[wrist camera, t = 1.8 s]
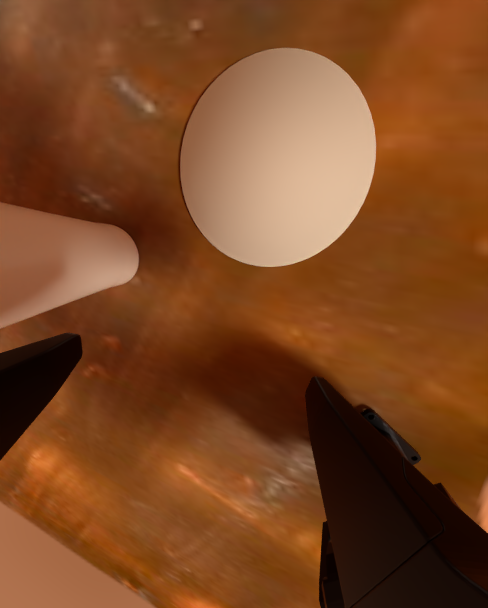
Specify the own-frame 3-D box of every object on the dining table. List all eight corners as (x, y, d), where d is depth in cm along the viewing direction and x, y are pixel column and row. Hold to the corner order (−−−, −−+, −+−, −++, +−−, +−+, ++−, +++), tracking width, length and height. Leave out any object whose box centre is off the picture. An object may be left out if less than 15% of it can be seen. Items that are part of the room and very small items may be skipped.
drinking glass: (153, 293, 21) (-125, 399, 7) (89, 290, 22) (-267, 375, 8) (145, 215, 19) (-249, 135, 5) (76, 215, 20) (-410, 151, 6)
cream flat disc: (421, 156, 15) (423, 154, 15) (272, 300, 19) (272, 301, 19) (269, -5, 14) (269, -10, 14) (149, 182, 19) (146, 181, 18)
